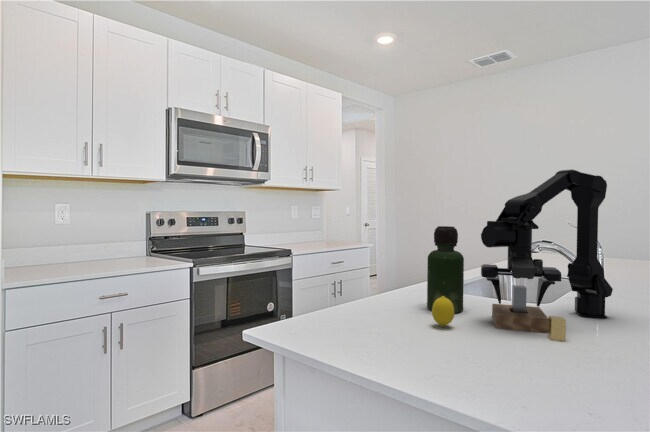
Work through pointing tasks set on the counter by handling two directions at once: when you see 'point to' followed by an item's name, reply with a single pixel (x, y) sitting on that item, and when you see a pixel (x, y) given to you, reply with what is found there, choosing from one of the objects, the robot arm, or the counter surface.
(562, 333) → the short pin
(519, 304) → the long pin
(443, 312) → the lemon
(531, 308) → the socket block
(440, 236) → the dark green bottle
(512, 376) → the counter surface
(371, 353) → the counter surface
